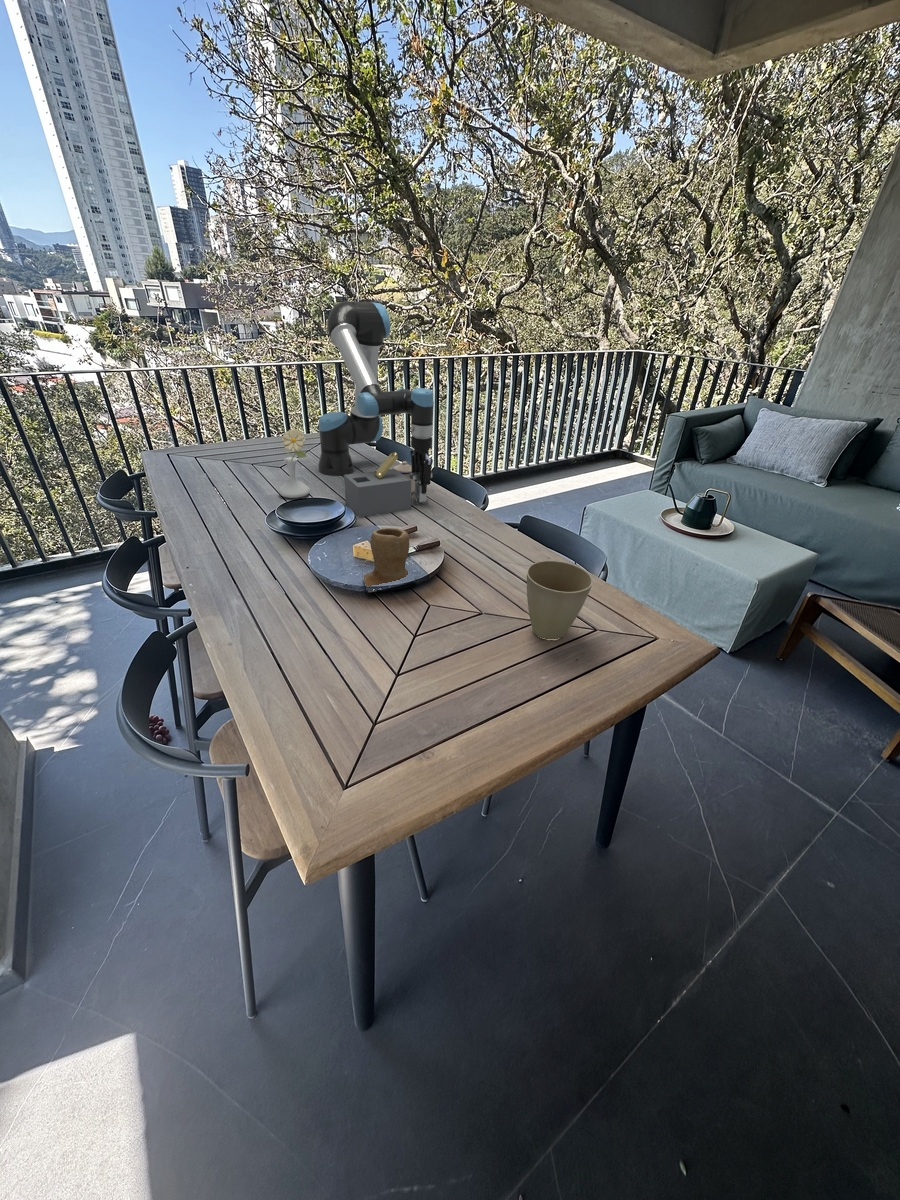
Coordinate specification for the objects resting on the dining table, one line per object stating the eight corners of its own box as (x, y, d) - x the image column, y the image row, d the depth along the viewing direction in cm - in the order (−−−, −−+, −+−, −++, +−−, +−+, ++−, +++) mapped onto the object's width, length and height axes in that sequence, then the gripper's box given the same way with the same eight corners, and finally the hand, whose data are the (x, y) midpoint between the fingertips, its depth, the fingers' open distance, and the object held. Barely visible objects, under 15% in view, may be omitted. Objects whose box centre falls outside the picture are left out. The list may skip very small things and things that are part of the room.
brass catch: (376, 476, 180) (373, 473, 179) (395, 453, 180) (392, 450, 178) (381, 479, 177) (378, 477, 176) (400, 456, 176) (397, 453, 175)
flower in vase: (272, 497, 187) (262, 428, 173) (291, 488, 196) (283, 422, 182) (301, 503, 183) (294, 434, 169) (319, 494, 192) (313, 427, 178)
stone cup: (402, 567, 145) (402, 519, 137) (420, 586, 137) (422, 536, 129) (353, 578, 139) (350, 528, 131) (368, 598, 130) (366, 546, 122)
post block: (345, 503, 185) (343, 474, 179) (394, 496, 194) (394, 468, 188) (359, 517, 175) (358, 487, 169) (410, 509, 183) (411, 480, 178)
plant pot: (566, 659, 113) (580, 599, 104) (507, 636, 119) (515, 578, 111) (588, 628, 124) (601, 572, 115) (533, 608, 130) (542, 554, 121)
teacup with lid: (410, 485, 205) (411, 457, 199) (419, 493, 198) (419, 464, 192) (383, 488, 201) (382, 459, 194) (390, 496, 194) (390, 466, 187)
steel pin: (409, 503, 188) (409, 473, 182) (427, 500, 192) (428, 470, 186) (412, 506, 186) (412, 475, 180) (431, 503, 190) (432, 473, 184)
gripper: (402, 431, 180) (402, 493, 192) (422, 442, 168) (421, 508, 181) (420, 430, 183) (419, 491, 196) (442, 441, 172) (439, 505, 184)
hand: (420, 499), depth 188 cm, fingers closed on steel pin, 3 cm apart
